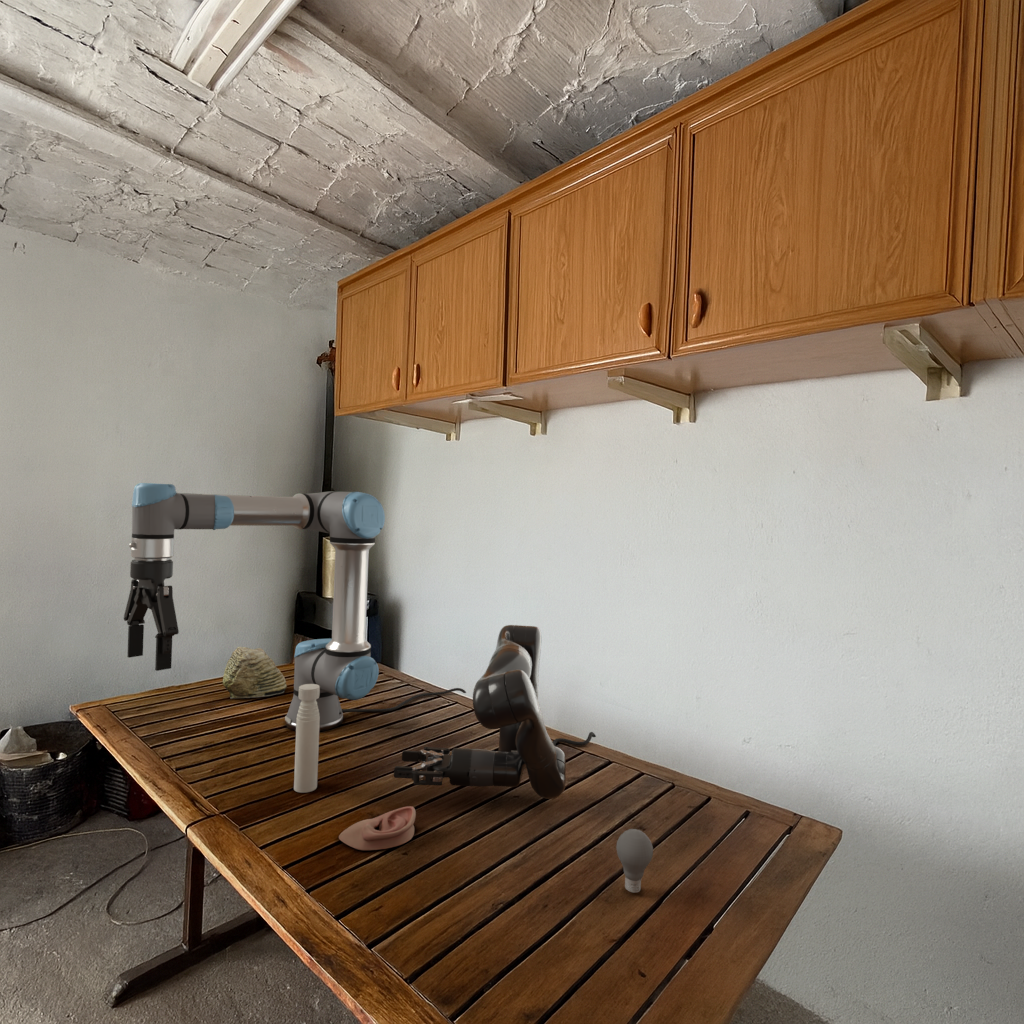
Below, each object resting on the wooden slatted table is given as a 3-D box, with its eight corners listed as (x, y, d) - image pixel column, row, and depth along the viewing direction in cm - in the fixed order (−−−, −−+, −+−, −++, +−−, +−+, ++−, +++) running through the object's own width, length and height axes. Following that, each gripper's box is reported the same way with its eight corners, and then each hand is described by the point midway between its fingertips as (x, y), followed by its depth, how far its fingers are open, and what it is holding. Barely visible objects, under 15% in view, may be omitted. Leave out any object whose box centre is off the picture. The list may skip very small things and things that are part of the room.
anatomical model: (331, 824, 115) (359, 795, 126) (330, 845, 115) (358, 815, 126) (400, 835, 112) (422, 805, 124) (399, 857, 112) (421, 825, 124)
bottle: (304, 780, 141) (308, 683, 140) (321, 785, 139) (325, 687, 138) (288, 789, 136) (292, 689, 136) (306, 794, 134) (310, 693, 134)
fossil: (218, 695, 195) (220, 647, 195) (278, 685, 208) (279, 640, 207) (228, 703, 189) (230, 653, 188) (289, 692, 201) (290, 645, 201)
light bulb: (610, 879, 108) (613, 822, 108) (644, 879, 109) (647, 822, 109) (619, 902, 102) (622, 840, 102) (655, 901, 103) (658, 840, 103)
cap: (308, 693, 140) (308, 682, 140) (323, 696, 138) (324, 685, 138) (294, 698, 136) (294, 687, 136) (309, 701, 134) (310, 690, 134)
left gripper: (108, 554, 134) (104, 654, 134) (159, 565, 118) (155, 678, 119) (146, 552, 140) (143, 648, 140) (199, 563, 124) (195, 671, 124)
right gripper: (476, 737, 144) (405, 734, 144) (471, 763, 130) (392, 759, 130) (474, 770, 144) (403, 767, 144) (469, 800, 130) (390, 795, 130)
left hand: (148, 662), depth 129 cm, fingers open, 13 cm apart
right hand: (398, 763), depth 137 cm, fingers open, 8 cm apart
